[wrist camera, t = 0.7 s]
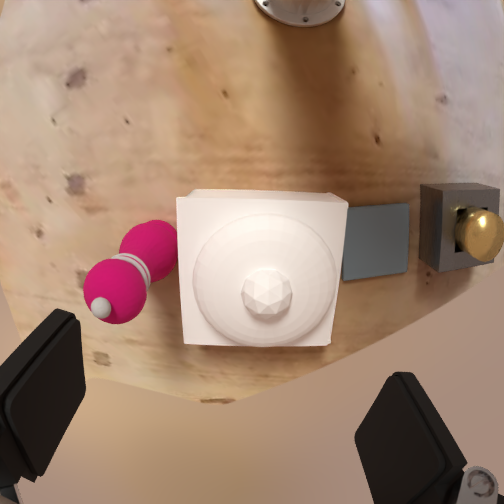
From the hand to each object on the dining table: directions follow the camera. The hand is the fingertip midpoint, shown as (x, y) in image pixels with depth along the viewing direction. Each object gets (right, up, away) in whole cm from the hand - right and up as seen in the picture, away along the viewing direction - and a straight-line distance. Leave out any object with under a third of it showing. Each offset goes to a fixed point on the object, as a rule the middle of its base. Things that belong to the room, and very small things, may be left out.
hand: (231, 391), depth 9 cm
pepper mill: (-12, +5, +34) cm, 36 cm away
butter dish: (+2, +4, +35) cm, 35 cm away
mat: (+18, +6, +34) cm, 39 cm away
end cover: (+30, +9, +32) cm, 45 cm away
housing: (+30, +9, +33) cm, 46 cm away
